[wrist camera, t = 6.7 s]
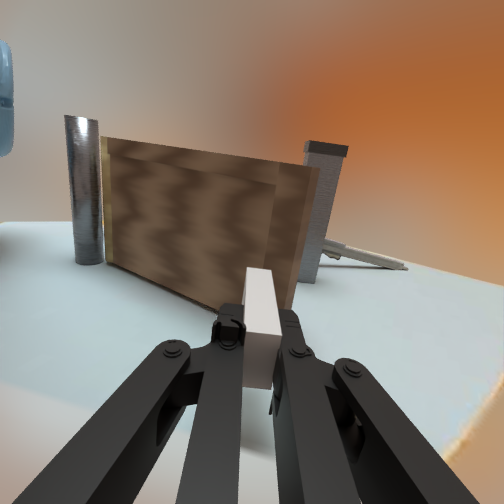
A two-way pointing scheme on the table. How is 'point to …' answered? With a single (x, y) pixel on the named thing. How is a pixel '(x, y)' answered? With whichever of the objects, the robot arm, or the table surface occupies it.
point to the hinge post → (85, 188)
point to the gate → (205, 218)
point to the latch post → (320, 202)
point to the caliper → (358, 255)
